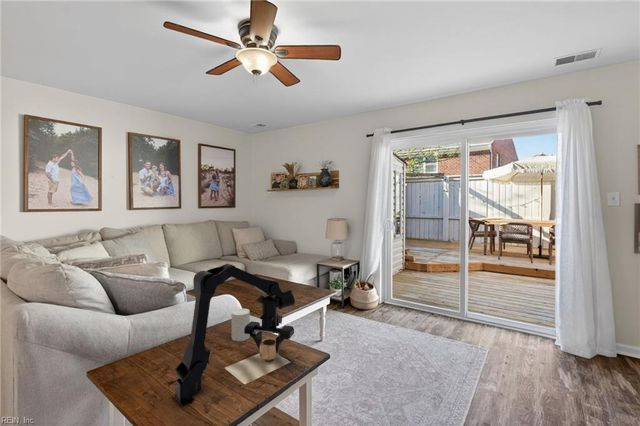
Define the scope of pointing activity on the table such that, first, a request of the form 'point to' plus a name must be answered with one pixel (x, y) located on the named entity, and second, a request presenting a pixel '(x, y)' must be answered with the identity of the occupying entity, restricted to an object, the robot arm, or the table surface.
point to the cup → (240, 324)
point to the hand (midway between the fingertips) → (269, 351)
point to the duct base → (255, 367)
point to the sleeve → (268, 349)
